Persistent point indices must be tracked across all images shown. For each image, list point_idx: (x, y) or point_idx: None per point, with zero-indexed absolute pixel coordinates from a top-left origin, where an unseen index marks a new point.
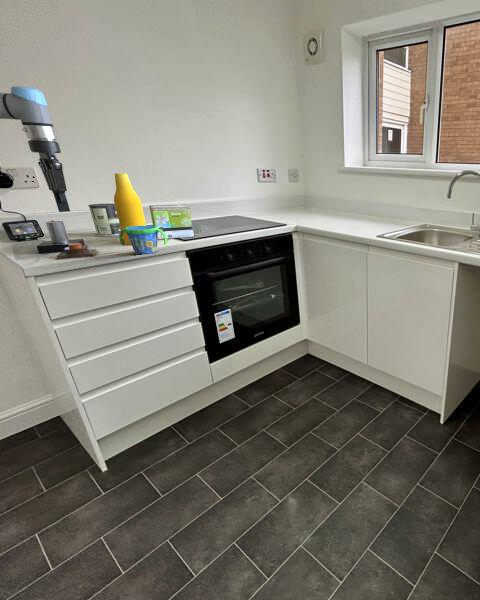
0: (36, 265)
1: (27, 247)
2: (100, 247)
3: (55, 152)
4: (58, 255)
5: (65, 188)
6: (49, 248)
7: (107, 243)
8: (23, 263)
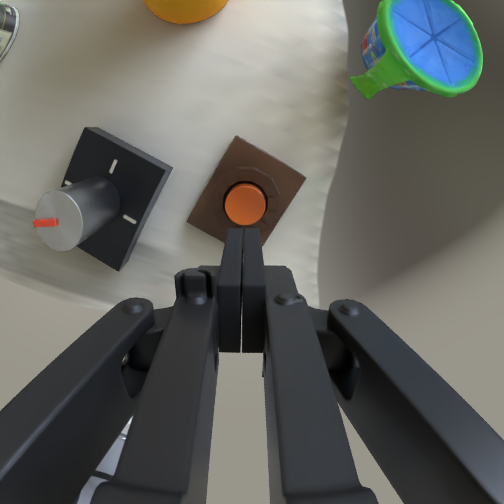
0: None
1: (24, 249)
2: (161, 98)
3: None
4: None
5: (373, 321)
6: (133, 241)
7: (108, 62)
8: None
